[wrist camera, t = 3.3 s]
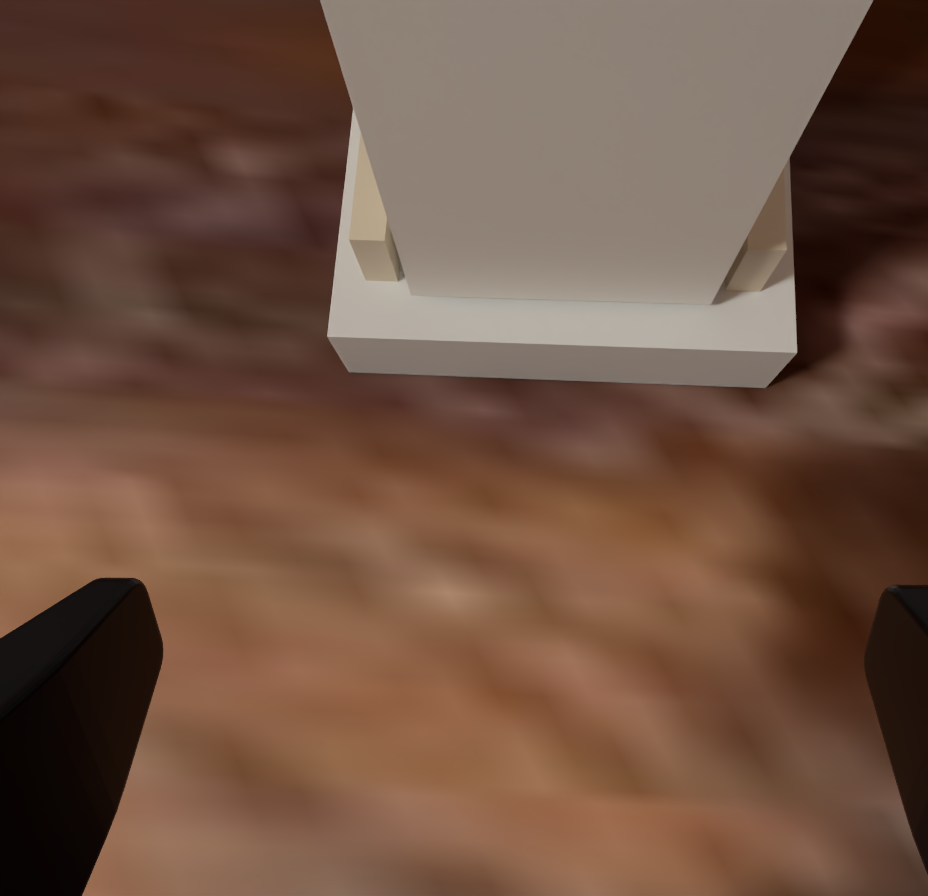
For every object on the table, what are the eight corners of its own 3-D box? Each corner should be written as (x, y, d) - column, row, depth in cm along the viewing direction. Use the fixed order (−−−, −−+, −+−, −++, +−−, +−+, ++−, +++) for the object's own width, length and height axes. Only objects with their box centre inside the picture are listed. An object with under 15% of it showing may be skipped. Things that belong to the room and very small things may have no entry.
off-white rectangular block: (710, 304, 19) (961, -164, 8) (410, 295, 19) (272, -151, 9) (709, 207, 19) (941, -346, 9) (419, 201, 20) (300, -322, 9)
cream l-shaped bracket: (765, 387, 21) (1129, -15, 8) (348, 372, 22) (114, -13, 9) (757, 96, 23) (1036, -571, 11) (378, 93, 24) (220, -524, 11)
